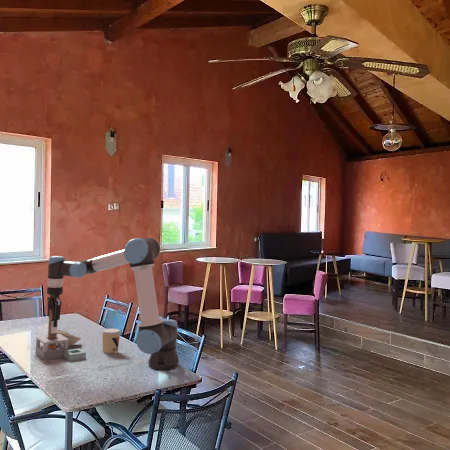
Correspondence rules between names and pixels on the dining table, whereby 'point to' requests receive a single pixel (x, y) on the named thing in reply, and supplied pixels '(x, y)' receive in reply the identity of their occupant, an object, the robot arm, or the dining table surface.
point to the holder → (74, 354)
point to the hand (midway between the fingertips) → (52, 332)
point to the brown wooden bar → (53, 335)
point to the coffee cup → (111, 340)
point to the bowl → (69, 337)
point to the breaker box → (53, 352)
